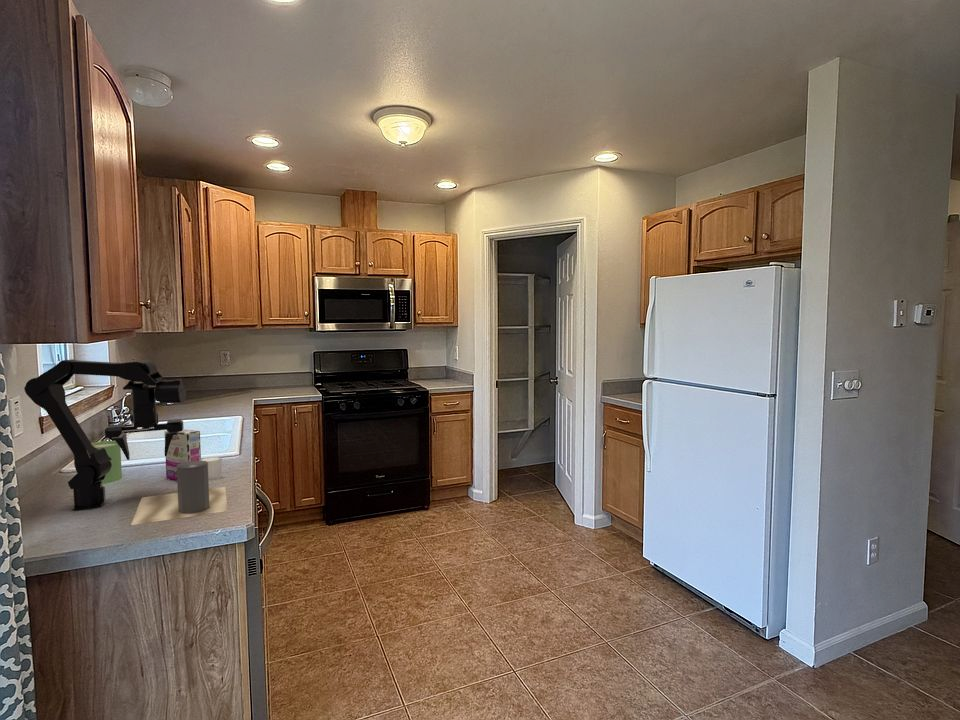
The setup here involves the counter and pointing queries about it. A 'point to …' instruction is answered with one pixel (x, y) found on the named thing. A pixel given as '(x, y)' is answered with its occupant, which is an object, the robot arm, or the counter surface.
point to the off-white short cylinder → (213, 467)
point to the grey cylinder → (193, 487)
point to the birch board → (175, 507)
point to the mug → (115, 455)
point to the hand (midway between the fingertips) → (147, 457)
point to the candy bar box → (182, 451)
